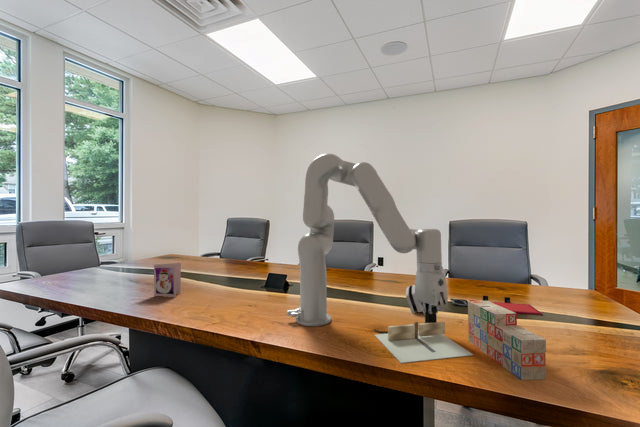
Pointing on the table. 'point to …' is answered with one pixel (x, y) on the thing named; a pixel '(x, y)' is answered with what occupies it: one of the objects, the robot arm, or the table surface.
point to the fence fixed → (403, 332)
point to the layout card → (423, 348)
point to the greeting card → (167, 279)
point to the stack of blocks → (506, 340)
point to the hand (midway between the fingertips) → (430, 324)
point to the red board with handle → (505, 306)
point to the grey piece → (413, 300)
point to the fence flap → (431, 329)
